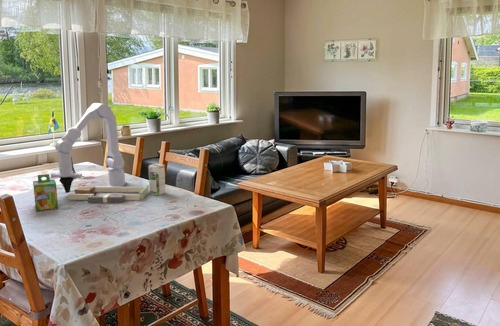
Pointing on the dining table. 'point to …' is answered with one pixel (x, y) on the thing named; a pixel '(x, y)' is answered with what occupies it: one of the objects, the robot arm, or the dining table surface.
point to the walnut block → (85, 190)
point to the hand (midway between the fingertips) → (67, 192)
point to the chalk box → (45, 193)
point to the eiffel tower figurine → (74, 170)
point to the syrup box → (157, 179)
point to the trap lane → (107, 197)
